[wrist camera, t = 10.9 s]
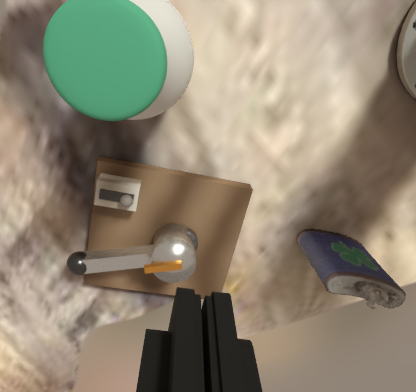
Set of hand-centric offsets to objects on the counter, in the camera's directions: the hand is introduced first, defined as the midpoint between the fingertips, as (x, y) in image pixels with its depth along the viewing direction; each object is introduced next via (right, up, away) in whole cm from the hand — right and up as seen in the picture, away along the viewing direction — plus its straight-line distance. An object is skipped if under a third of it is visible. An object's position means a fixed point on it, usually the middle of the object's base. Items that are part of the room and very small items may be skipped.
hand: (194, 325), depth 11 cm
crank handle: (-7, -1, +26) cm, 27 cm away
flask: (+15, -2, +31) cm, 34 cm away
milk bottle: (-5, +17, +20) cm, 27 cm away
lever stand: (-4, 0, +28) cm, 28 cm away
